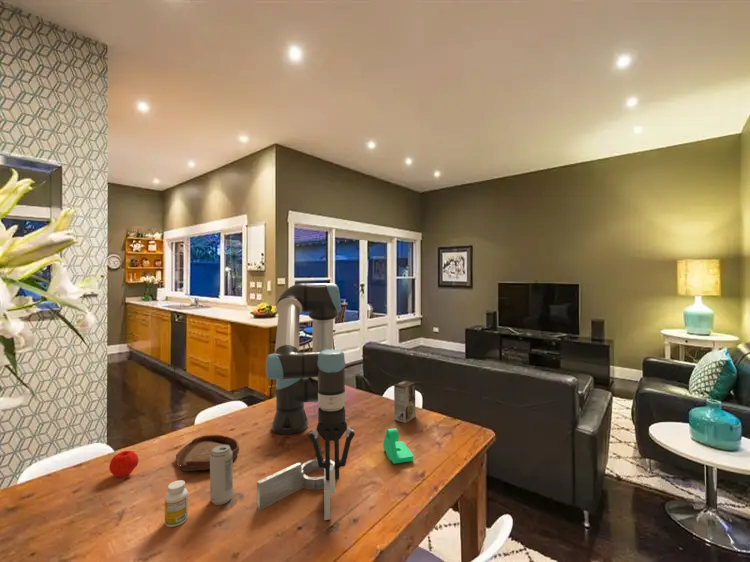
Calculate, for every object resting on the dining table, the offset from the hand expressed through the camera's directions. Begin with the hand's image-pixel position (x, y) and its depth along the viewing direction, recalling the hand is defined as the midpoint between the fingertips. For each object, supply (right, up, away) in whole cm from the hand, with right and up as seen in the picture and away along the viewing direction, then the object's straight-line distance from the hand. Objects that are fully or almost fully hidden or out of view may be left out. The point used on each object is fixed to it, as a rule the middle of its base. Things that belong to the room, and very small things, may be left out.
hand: (332, 490), depth 98 cm
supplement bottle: (-41, -5, -5) cm, 42 cm away
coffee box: (+26, -5, +63) cm, 68 cm away
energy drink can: (-33, -5, +4) cm, 34 cm away
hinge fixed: (-11, -5, +10) cm, 16 cm away
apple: (-71, -6, +18) cm, 73 cm away
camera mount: (+20, -5, +29) cm, 35 cm away
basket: (-48, -6, +28) cm, 56 cm away
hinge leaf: (-2, -5, +2) cm, 5 cm away
